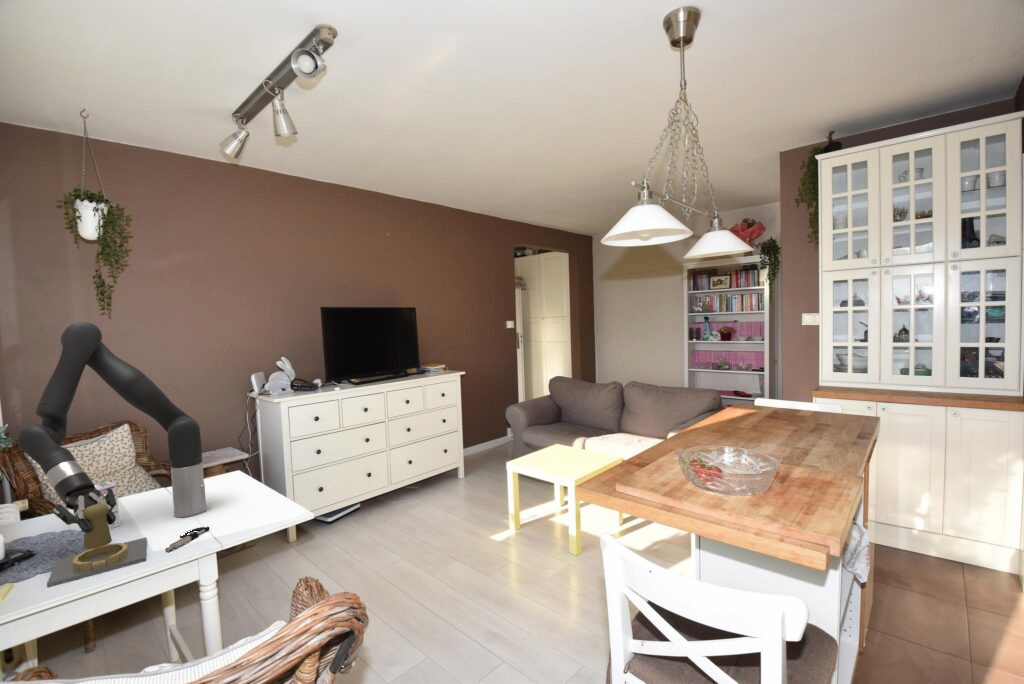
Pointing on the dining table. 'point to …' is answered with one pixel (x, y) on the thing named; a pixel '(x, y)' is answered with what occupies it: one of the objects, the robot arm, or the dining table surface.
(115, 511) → the syrup box
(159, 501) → the dining table surface
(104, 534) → the cork
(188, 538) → the micrometer
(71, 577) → the collar plate
